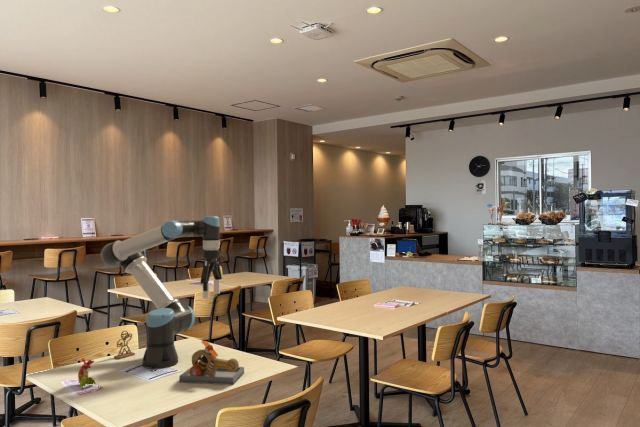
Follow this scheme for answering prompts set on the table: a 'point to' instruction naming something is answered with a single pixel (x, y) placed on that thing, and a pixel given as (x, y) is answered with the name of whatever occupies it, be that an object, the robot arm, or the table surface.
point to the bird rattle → (85, 374)
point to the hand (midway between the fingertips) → (211, 295)
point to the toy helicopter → (210, 362)
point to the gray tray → (213, 377)
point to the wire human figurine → (124, 346)
